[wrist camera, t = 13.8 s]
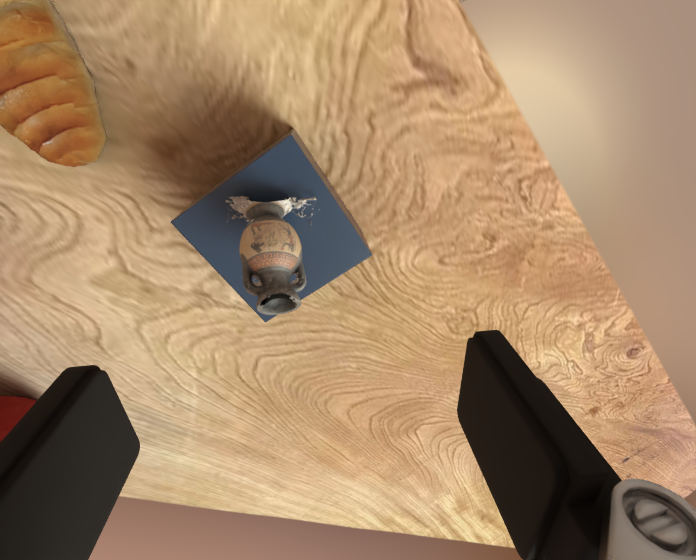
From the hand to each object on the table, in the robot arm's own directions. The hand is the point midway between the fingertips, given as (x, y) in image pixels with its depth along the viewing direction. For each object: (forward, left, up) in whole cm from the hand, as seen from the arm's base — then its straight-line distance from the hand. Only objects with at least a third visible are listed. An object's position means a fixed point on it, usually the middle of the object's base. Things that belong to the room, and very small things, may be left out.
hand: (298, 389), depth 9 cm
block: (+1, -2, -19) cm, 20 cm away
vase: (+1, -2, -15) cm, 15 cm away
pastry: (-9, -15, -20) cm, 26 cm away
